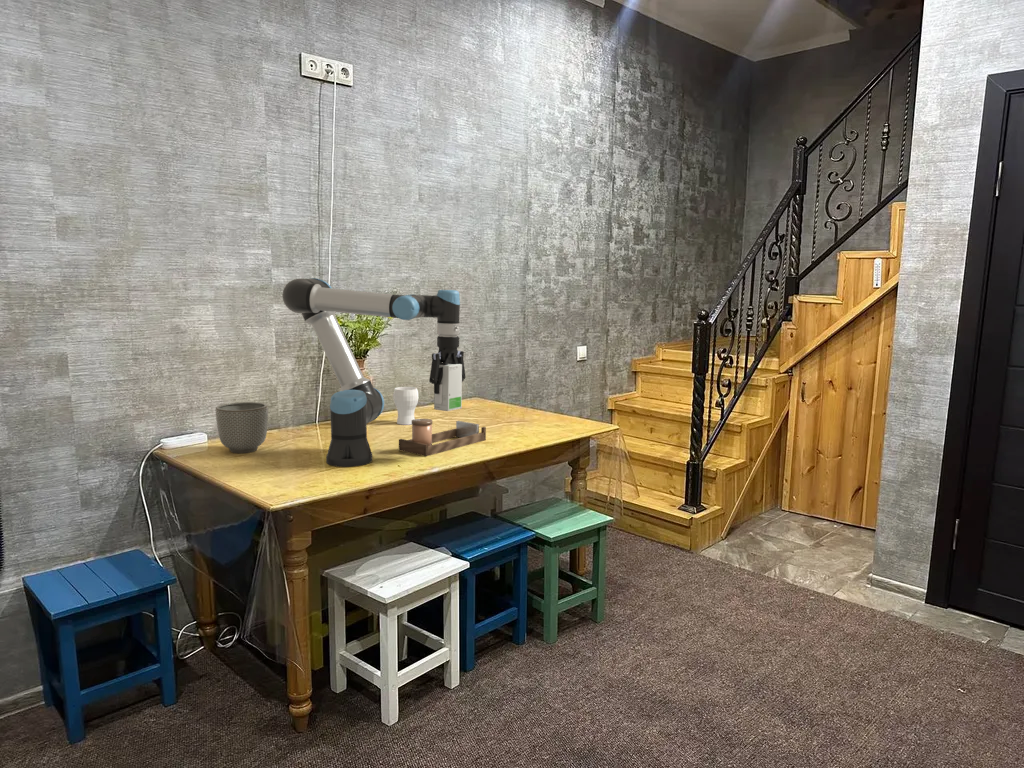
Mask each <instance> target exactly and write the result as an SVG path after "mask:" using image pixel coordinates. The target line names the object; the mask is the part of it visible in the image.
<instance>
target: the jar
mask: <svg viewBox="0 0 1024 768" xmlns="http://www.w3.org/2000/svg"><path fill="white" fill-rule="evenodd" d="M432 434H433V419H431V418H415V419H414V420H412V424H411V439H412V441H414V442H419V443H424V444H428V446H431V445H433V443H432Z"/></svg>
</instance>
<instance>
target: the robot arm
mask: <svg viewBox="0 0 1024 768" xmlns="http://www.w3.org/2000/svg"><path fill="white" fill-rule="evenodd" d="M281 294H282V295H281V297H282V301H283V303H284V305H285V307H286V308H287V309H288V310H290V311H291V312H294V313H296V314H301V315H302V317H303V320H304V322H305V323H306V324H309V325H311V326H312V328H313V330H314V332H315V335H316V338H317V339H318V341H319V343H320V345H321V347H322V349H323V350H322V351H324V354H325V356H326V358H327V360H328V362H329V365H331V368H332V371H333V372H334V375H335V377H336V380H337V382H338V384H339V385H340V389H339V391H337V392H334V393H333V394H332V395H331V397H330V404H329V409H330V437H331V439H330V441H329V442H330V444H329V447H328V451H327V453H326V456H325V460H326V461H325V462H326V464H328V465H330V466H332V467H333V466H334V467H339V468H340V467H342V468H345V467H346V468H347V467H348V468H349V467H350V468H351V467H359V466H364V465H367V464H370V463H372V462H373V452H372V450H371V446H370V444H369V443H370V442H369V440H368V438H367V437H368V436H367V435H368V434H367V433H368V431H367V430H368V429H367V427H368V423H371V422H374V421H375V420H376V419H377V418H378V417H380V416H381V414H382V413H383V411H384V407H385V398H384V396H383V394H382V392H380V390H378V389H376V388H375V387H374V385H373V383H372V381H371V380H370V379H369V378H366V377H365V376H364V373H363V372H362V369H361V368H360V366H359V364H358V362H357V359H356V357H355V355H354V353H353V351H352V349H351V347H350V345H349V343H348V340H347V338H346V336H345V334H344V332H343V330H342V328H341V326H340V323H339V321H338V319H337V317H336V313H344V314H353V315H362V316H364V315H365V316H376V317H383V318H384V317H385V318H395V319H399V320H403V321H411V320H414V319H418V318H435V319H436V320H437V321H436V322H437V323H436V334H437V335H438V336H437V337H436V346H437V347H438V352H437V353H434V352H433V353H431V367H430V374H429V381H428V382H429V383H430V384H433V395H434V394H435V403H439V404H442V384H441V380H442V377H443V367H440V368H439V365H448V363H449V364H462V383H463V382H464V380H465V379H466V371H465V361H464V357H465V356H464V353H465V352H464V351H463V350H458V348H459V347H460V336H459V335H460V311H461V310H460V309H461V308H460V307H461V301H460V300H461V299H460V291H458V290H456V289H439V290H437V292H436V294H435V295H429V294H426V295H425V294H405V295H403V294H393V293H382V292H373V291H372V292H371V291H364V290H363V291H362V290H351V289H344V288H342V289H341V288H333V287H332V286H331V284H330V283H328V282H327V281H325V280H323V279H319V278H316V277H315V278H314V277H312V278H311V277H310V278H295V279H292V280H290V281H288V282H287V283H286V284H285V286H284V288H283V290H282V293H281ZM437 380H438V381H437Z"/></svg>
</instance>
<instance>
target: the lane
mask: <svg viewBox="0 0 1024 768" xmlns="http://www.w3.org/2000/svg"><path fill="white" fill-rule="evenodd" d="M486 435H487V427H486V426H482V427H481V432H479V433H477V434H473V435H470V436H466V437H459V438H458V437H457V436H456V428H451V429H448V430H443V431H440V432H435V433H432V445H431V446H428V444H424V443H419V442H414V441H412V438H409V439H405V438H399V439H398V451H400V452H405V453H409V454H413V455H414V454H415V455H419V456H423V457H428V456H432V455H436V454H439V453H443V452H447V451H451V450H454V449H457V448H462V447H465V446H468V445H473V444H477V443H479V442H483V441H486V440H487V436H486ZM456 437H457V438H456ZM449 439H451V440H449ZM445 440H447V441H445ZM441 441H442V442H441ZM436 442H437V443H436ZM438 442H439V443H438ZM434 443H435V444H434Z"/></svg>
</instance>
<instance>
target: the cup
mask: <svg viewBox="0 0 1024 768" xmlns="http://www.w3.org/2000/svg"><path fill="white" fill-rule="evenodd" d="M392 398H393V399H392V400H393V402H394V406H395V407H396V409H397V410H396V411H397V420H396V424H397V425H401V426H402V425H403V426H405V425H406V426H408V425H412V420H414V419H416V418H415V409H416V407H417V405H418V402H419V390H418V387H416V386H398V387H394V389H393V395H392Z"/></svg>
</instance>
